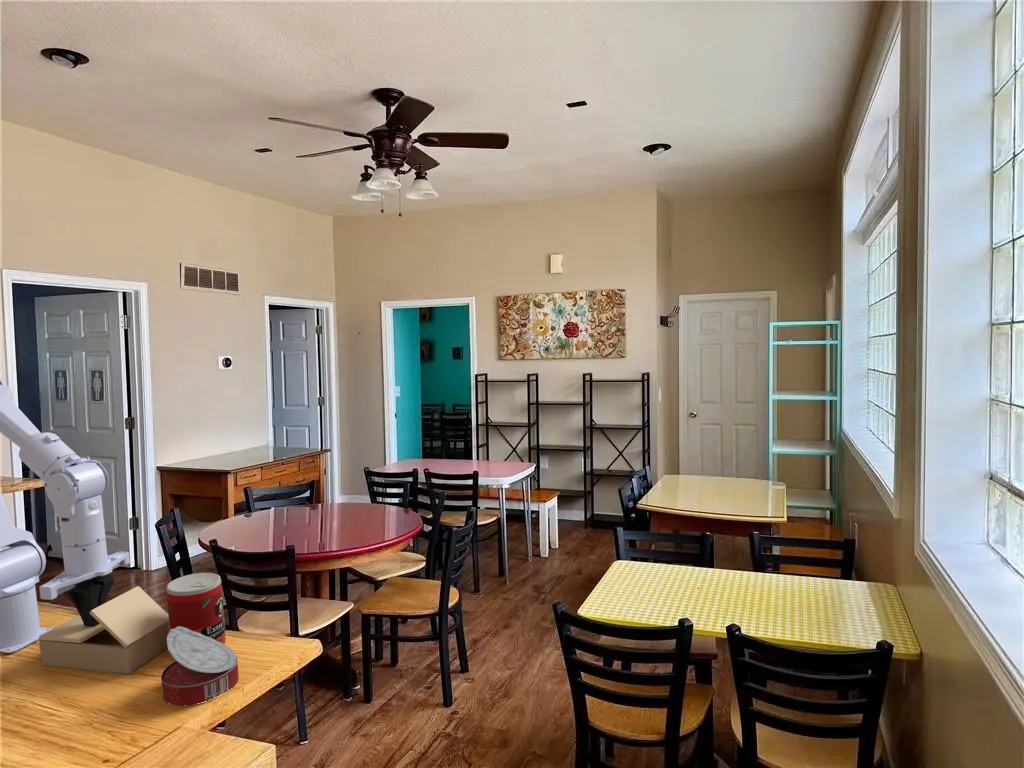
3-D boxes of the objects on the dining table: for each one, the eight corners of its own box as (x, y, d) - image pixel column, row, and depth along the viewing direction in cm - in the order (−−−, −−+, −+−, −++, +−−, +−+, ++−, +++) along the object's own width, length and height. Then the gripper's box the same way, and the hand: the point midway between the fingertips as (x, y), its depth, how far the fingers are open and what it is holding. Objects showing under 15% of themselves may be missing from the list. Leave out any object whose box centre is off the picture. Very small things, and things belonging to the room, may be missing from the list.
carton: (41, 665, 102) (39, 640, 102) (91, 637, 111) (89, 614, 110) (128, 675, 98) (126, 649, 98) (173, 645, 107) (170, 621, 107)
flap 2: (170, 620, 107) (172, 617, 106) (125, 648, 98) (127, 645, 98) (136, 588, 108) (138, 585, 107) (89, 613, 99) (91, 610, 99)
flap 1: (39, 639, 102) (39, 635, 102) (89, 613, 110) (89, 610, 110) (80, 642, 100) (80, 639, 100) (128, 616, 109) (127, 612, 108)
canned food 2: (201, 699, 100) (218, 629, 103) (246, 709, 95) (263, 635, 98) (130, 701, 91) (152, 623, 94) (176, 712, 86) (197, 630, 89)
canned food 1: (213, 660, 102) (207, 591, 101) (161, 661, 102) (155, 592, 101) (235, 635, 110) (229, 571, 108) (187, 637, 110) (181, 572, 109)
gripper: (63, 559, 95) (73, 649, 97) (141, 527, 109) (149, 606, 111) (24, 556, 97) (34, 645, 98) (106, 525, 111) (114, 603, 112)
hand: (92, 624), depth 105 cm, fingers closed
